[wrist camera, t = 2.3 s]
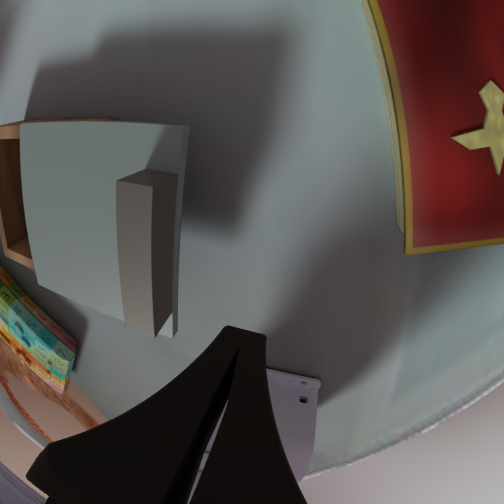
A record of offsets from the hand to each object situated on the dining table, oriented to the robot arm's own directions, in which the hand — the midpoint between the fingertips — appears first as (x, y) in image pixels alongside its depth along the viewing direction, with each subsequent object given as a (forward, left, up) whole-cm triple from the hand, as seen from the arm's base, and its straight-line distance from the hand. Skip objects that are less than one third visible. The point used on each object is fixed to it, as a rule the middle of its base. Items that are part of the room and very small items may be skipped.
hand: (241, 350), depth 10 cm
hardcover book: (-9, -14, -11) cm, 20 cm away
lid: (+11, 0, -6) cm, 13 cm away
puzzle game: (+30, +19, -11) cm, 37 cm away
